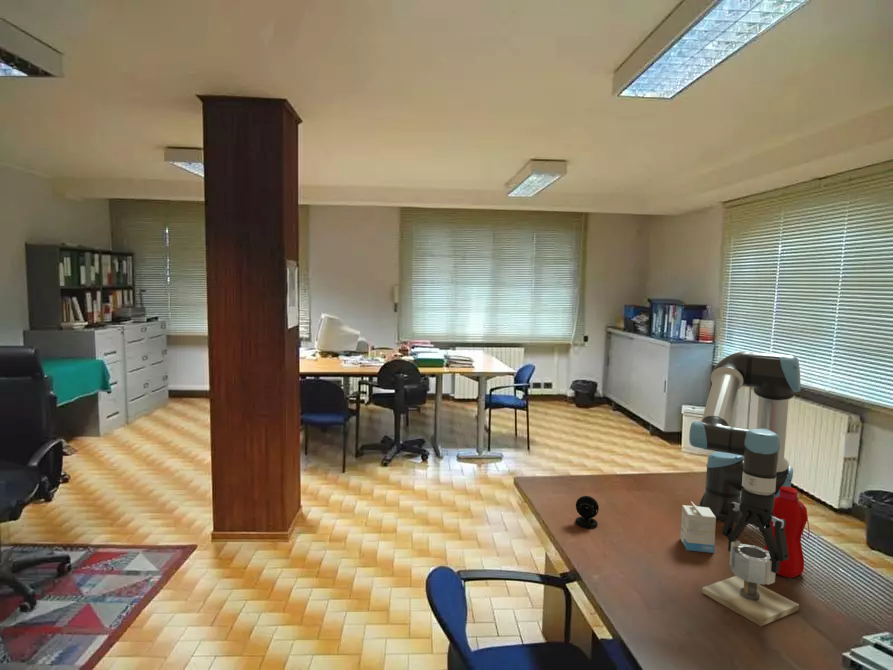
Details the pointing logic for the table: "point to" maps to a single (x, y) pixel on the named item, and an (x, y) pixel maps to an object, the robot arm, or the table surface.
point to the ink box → (698, 528)
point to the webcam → (587, 512)
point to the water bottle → (791, 529)
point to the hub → (749, 563)
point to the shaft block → (750, 600)
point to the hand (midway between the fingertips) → (751, 573)
